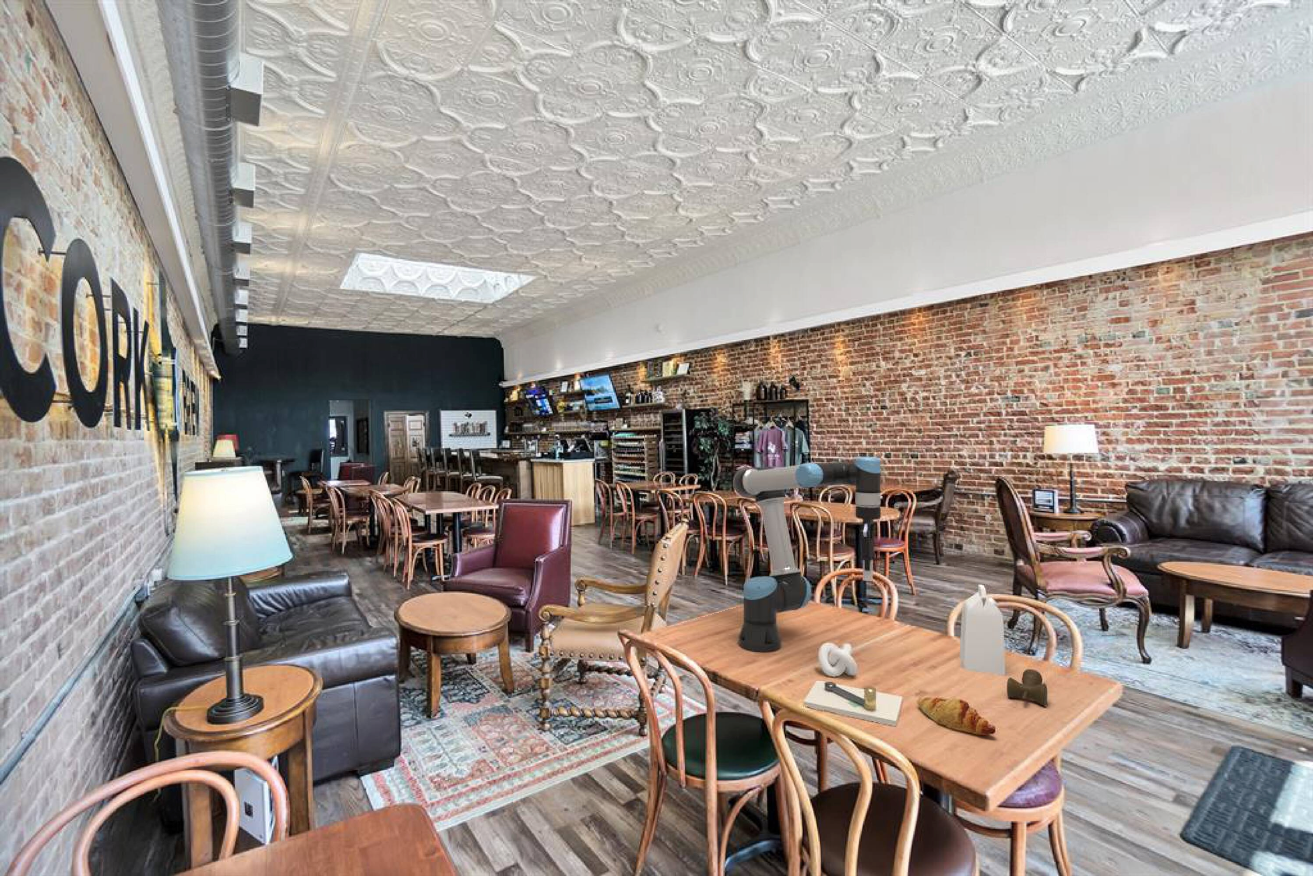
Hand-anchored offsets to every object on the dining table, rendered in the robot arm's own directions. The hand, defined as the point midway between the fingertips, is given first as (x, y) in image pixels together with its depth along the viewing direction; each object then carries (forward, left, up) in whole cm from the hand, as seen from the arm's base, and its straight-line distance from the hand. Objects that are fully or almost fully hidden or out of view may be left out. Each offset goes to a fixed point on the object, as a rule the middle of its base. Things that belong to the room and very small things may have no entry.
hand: (867, 580), depth 188 cm
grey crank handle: (-1, -26, -27) cm, 37 cm away
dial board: (0, -25, -29) cm, 39 cm away
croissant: (+25, -23, -30) cm, 45 cm away
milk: (+32, +23, -30) cm, 49 cm away
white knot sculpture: (-8, -4, -30) cm, 31 cm away
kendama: (+44, +4, -30) cm, 53 cm away
